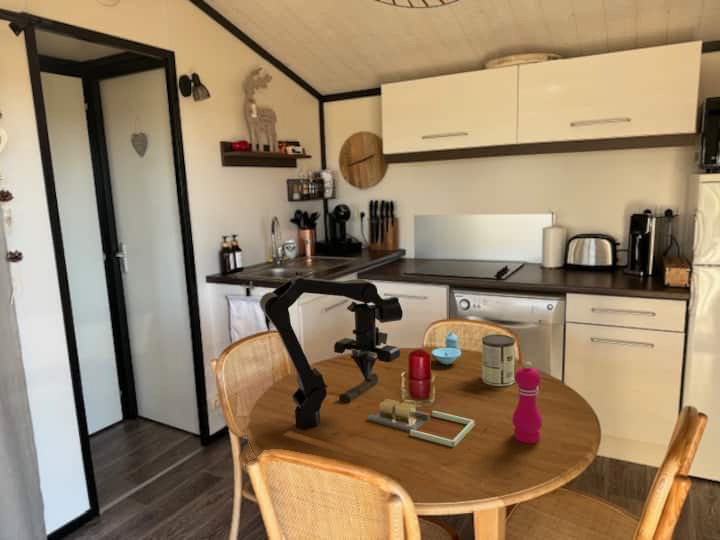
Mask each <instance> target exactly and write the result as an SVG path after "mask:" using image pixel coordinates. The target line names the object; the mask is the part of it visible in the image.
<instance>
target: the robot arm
mask: <svg viewBox="0 0 720 540" xmlns="http://www.w3.org/2000/svg"><path fill="white" fill-rule="evenodd" d="M305 293H306V294H312V295H313V294H315V295H326V296H338V297H345V298H348V299H351V300H354V301H352V302H351V303H350V304H349V305H347V307H346V310H347V311H348V312H351V313H354V329H352V334H353V335H355V339H354V338H353V339H352V338H349V337H348V338H347V337H346V338H345V337H344V338H342V339H339V340H338V341H335V343H334V345H333V352H334V353H337V354H344V353H345V352H346V350H347V351H348V350H349V351H351V355H350V359H353V361H354V363H355V364H356V366H357V367H358V369H359V370H360V372H361V374H362V376H363V378H364V380H365V379H367V380H368V379H369V378H370V375H371V374H372V371H373V368H374V366H375V364H376V361H377V360H378V361H379V362H384V363H392V362H394V361H395V360H397V359H398V358H400V357H401V351H400V348H399V347H398V346H394V345H388V344H387V341H388V336H389V334H388V333H385V332H380V328H379V327H378V326H377V324H376V321H378V322H379V323H381V324H384V323H385V324H386V323H392V322H399V321H401V320H402V319H403V309H402V306H401V303H400V302H399V301H400V300H399V297H397V296H391V297H388V298H382V297H381V295H380V294H379V293H378V288H377V286H376V284H375V283H373V282H371V281H368V280H365V279H363V278H358V279H357V278H356V279H349V280H341V281H340V280H334V279H333V280H332V279H322V278H315V277H314V278H312V277H304V276H300V275H295V276H293V277H292V278H291V279H289V281H287V282H285V283H283V284H282V285H279V286H278V287H277V288H275V289H274V290H273V291H272V292H271V291H270V292H267V293H265V294H263V295H262V296H261V299H260V301H259V307H260V309H261V310H262V312H263V313H264V314H265V316H266V317H267V318H268V320H269V321H270V323H271V324H272V325H273V327H274V328H275V330H276V331H277V334H278V336H279V338H280V340H281V342H282V344H283V347H284V349H285V351H286V353H287V354H288V357H289V359H290V362H291V363H292V366H293V368H294V370H295V373H296V379H297V384H298V388H297V390H295V392H294V393H293V394H292V395H291V397H292V398H291V399H292V401H293V403H294V404H296V407H295V409H294V415H295V418H294V419H295V429H299V430H302V431H307V430H311V429H314V428H316V427H318V426H319V422H320V421H321V416H320V415H321V414H320V412H321V411H320V410H321V408H322V407H321V406H322V404H323V402H324V400H325V399H326V397H327V394H328V392H327V389H328V387H329V386H328V385H327V384H326V383H325V380H324V377H323V375H322V373H321V372H320V371H319V370H318V369H317V368H316V367H314V368H313V369H312V367H311V365H310V363H309V362H308V359H307V356H306V354H305V352H304V350H303V348H302V345H301V344H300V342H299V340H298V337H297V335H296V332H295V331H294V328H293V326H292V323H291V313H290V310H289V308H291V306H293V305H294V304H295V303H296V301H297V300H298V299H299V298H300V297H301V296H302V295H303V294H305ZM356 301H357V302H360V303H357V302H356ZM369 304H370V305H369ZM382 344H383V345H384V346H383V347H381V348H380V346H381V345H382Z"/></svg>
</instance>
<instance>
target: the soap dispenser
mask: <svg viewBox="0 0 720 540" xmlns="http://www.w3.org/2000/svg"><path fill="white" fill-rule="evenodd" d="M458 338H459V337H458V335H456V334H455V333H454V332H453V331H449V334H447V335H446V336H445V342H444V343H445V347H438V348H434V349H432V350H431V354H432V356H434V357H435V358H436V359H437V360H438V362H440V363H441V364H442V365H443V364H446V365H445V366H448V365H447V364H450V365H451V364H452V363H453V362H454V361H455V360H456V359H458V358H457V357H459V356H460V355H461V356H462V349H460V347H459V341H458ZM459 358H460V357H459Z"/></svg>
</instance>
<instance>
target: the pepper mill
mask: <svg viewBox="0 0 720 540" xmlns="http://www.w3.org/2000/svg"><path fill="white" fill-rule="evenodd" d="M523 365H524V366H523V367H520V368H519V369H518V370H517V371H516V372H515V374H514V381H515V382H516V384H517V387H516V391H517V393H518V396H519V397H518V398H519V399H518V404H517V405H516V407H515V410H514V412H513V415H512V417H511V418H512V420H511V422H512V425H513V426H514V430H513V436H514V439H515V440H517V441H519V442H520V443H525V444H534V443H538V442H539V441H540V439H541V431H540V429H541V428H542V426H543V418H542V417H543V416H542V414H541V412H540V410H539V408H538V405H537V395H538V393H539V387H538V386H539V385H540V384H541V381H542V379H541V375H540V372H539V371H538V370H537V369H536V368H534V367H532V366H533V364H532V363H531V362H530V361H526V362H524V364H523Z"/></svg>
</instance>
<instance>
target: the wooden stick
mask: <svg viewBox="0 0 720 540" xmlns="http://www.w3.org/2000/svg"><path fill="white" fill-rule="evenodd" d="M378 382H379V377H378V374H377V373H371V375H370V378H369V379H368V380H367V379H365V378H364V380H363V381H362V382H360V383H359V384H357V385H355V386H354V387H351V388H350V389H349V390H347V391H345V392H344V393H340V394H339V397H338V398H339V401H340V402H341V403H342V402H343V403H346V404H351V402H353V401H354V400H355V399H357V398H359V397H360V396H361V395H364V394H365V393H366V392H368V391H369V390H371V389H372V388H373V387H375V386H376V385H377V384H378Z"/></svg>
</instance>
